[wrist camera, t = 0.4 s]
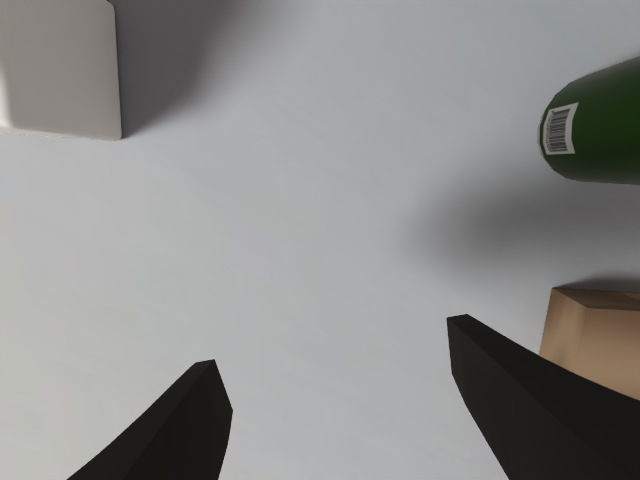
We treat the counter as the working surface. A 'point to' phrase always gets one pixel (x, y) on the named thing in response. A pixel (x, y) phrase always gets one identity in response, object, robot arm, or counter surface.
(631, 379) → the bore block
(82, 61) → the medicine bottle
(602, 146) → the green soda can
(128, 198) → the counter surface
